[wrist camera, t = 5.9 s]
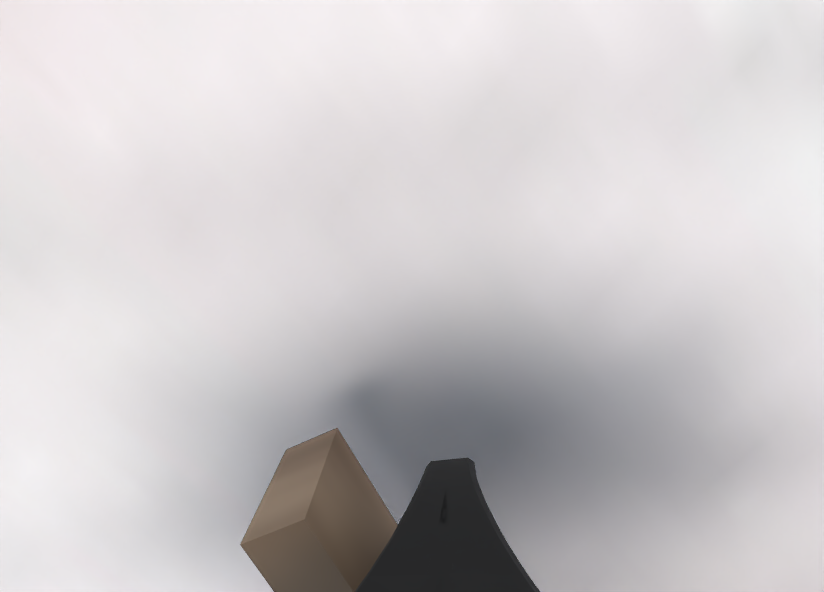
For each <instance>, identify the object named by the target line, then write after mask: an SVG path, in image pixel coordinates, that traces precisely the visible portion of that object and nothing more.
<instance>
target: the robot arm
mask: <svg viewBox="0 0 824 592" xmlns="http://www.w3.org/2000/svg"><path fill="white" fill-rule="evenodd" d="M355 592H540V591H539V590H538V588H537V587H536V586H535V584H534V583H533V581H532V580H531V579H530V577H529V576H528V574H527V573H526V571H525V570H524V568H523V567H522V565H521V564H520V562H519V561H518V559H517V558H516V556H515V554H514V553H513V551H512V550H511V548H510V546H509V545H508V543H507V541H506V540H505V538H504V536H503V535H502V533H501V531H500V529H499V527H498V525H497V523H496V521H495V520H494V518H493V516H492V514H491V512H490V510H489V508H488V506H487V503H486V501H485V499H484V497H483V494H482V492H481V489H480V486H479V484H478V481H477V477H476V471H475V465H474V462H473V461H472V460H470V459H469V458H460V459H450V460H440V461H431V462H430V463H429V464H428V466H427V467H426V469H425V472H424V474H423V476H422V479H421V481H420V483H419V485H418V488H417V490H416V492H415V494H414V496H413V498H412V500H411V502H410V504H409V506H408V508H407V510H406V511H405V513H404V515H403V517H402V519H401V520H400V522H399V524H398V526H397V528H396V529H395V531H394V533H393V535H392V536H391V538H390V540H389V541H388V543H387V544H386V546H385V548H384V549H383V551H382V552H381V554H380V555H379V557H378V558H377V560H376V562H375V563H374V565H373V566H372V568H371V569H370V571H369V572H368V574H367V575H366V576H365V578H364V579H363V581H362V582H361V583H360V585H359V586H358V588H357V589H356V590H355Z"/></svg>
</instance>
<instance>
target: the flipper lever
mask: <svg viewBox="0 0 824 592" xmlns="http://www.w3.org/2000/svg"><path fill="white" fill-rule="evenodd" d="M397 526H398V525H397V523H396V522H395V520H394V518H393V517H392V515H391V514H390V512H389V510H388V509H387V507H386V505H385V504H384V502H383V501H382V499H381V497H380V496H379V494H378V493H377V491H376V489H375V488H374V486H373V485H372V483H371V481H370V480H369V478H368V476H367V475H366V473H365V472H364V470H363V468H362V467H361V465H360V464H359V462H358V460H357V459H356V457H355V455H354V454H353V452H352V451H351V449H350V447H349V446H348V444H347V443H346V441H345V439H344V438H343V436H342V435H341V433H340V431H339V430H338V428H336V429H333V430H331V431H329V432H326V433H324V434H322V435H319V436H317V437H315V438H312V439H310V440H308V441H305V442H303V443H301V444H298V445H296V446H294V447H291V448H289V449H287V450H286V451H285V453H284V455H283V457H282V459H281V461H280V463H279V466H278V468H277V470H276V472H275V474H274V476H273V478H272V480H271V482H270V484H269V486H268V488H267V490H266V492H265V494H264V496H263V499H262V501H261V503H260V505H259V507H258V509H257V511H256V513H255V515H254V517H253V519H252V521H251V523H250V525H249V527H248V530H247V532H246V534H245V536H244V538H243V540H242V542H241V544H240V545H241V546H242V548H243V549H244V551H245V552H246V553H247V555H248V556H249V558H250V559H251V560H252V562H253V563H254V564H255V566H256V567H257V569H258V570H259V571H260V573H261V574H262V575H263V577H264V578H265V580H266V581H267V582H268V584H269V585H270V587H271V588H272V589H273V591H274V592H355V590H356V589H357V588H358V586H359V585H360V583H361V582H362V581H363V579H364V578H365V576H366V575H367V574H368V572H369V571H370V569H371V568H372V566H373V565H374V563H375V562H376V560H377V558H378V557H379V555H380V554H381V552H382V551H383V549H384V548H385V546H386V544H387V543H388V541H389V540H390V538H391V536H392V535H393V533H394V531H395V529H396V528H397Z"/></svg>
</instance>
